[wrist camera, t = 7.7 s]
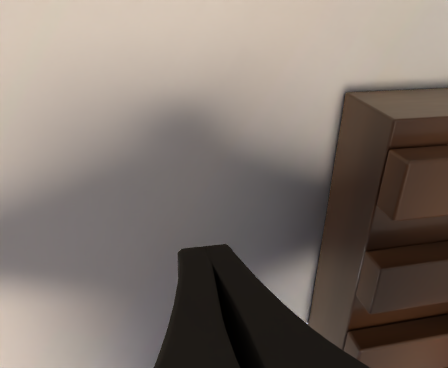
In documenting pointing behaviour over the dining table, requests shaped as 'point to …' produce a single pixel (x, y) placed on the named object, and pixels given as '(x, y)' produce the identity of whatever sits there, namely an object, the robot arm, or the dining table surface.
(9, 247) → the dining table surface
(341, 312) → the trivet
